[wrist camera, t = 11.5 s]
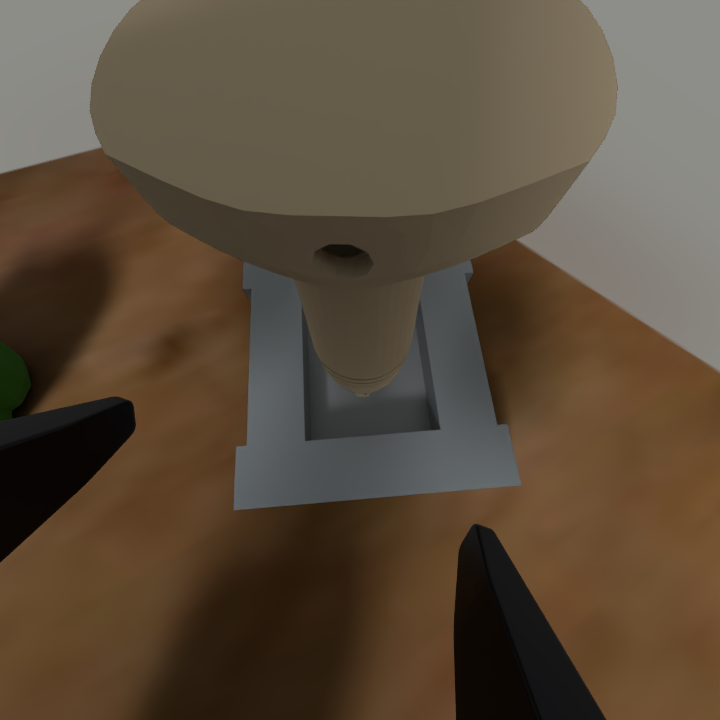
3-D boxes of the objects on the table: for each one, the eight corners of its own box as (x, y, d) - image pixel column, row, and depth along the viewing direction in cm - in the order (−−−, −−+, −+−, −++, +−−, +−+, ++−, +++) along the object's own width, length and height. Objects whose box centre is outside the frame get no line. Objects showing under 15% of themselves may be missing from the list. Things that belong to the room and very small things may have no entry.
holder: (495, 482, 17) (521, 485, 15) (254, 503, 17) (233, 510, 14) (451, 263, 22) (464, 232, 19) (259, 277, 22) (244, 248, 19)
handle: (311, 329, 19) (145, -52, 5) (419, 333, 19) (581, -57, 5) (304, 410, 18) (35, 209, 3) (420, 415, 18) (658, 222, 3)
